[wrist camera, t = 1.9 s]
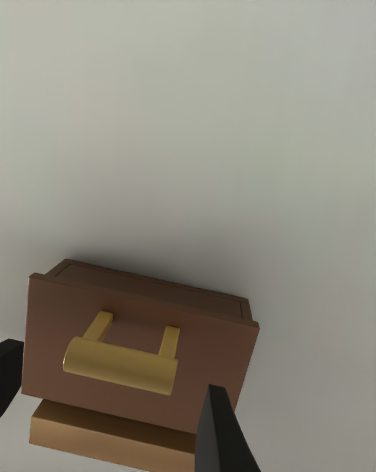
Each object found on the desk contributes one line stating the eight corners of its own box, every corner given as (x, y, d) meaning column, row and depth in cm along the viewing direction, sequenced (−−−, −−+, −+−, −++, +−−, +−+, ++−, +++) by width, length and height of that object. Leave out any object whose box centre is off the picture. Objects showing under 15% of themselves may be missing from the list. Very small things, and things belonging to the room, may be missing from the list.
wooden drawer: (65, 258, 20) (34, 282, 17) (248, 298, 20) (255, 331, 17) (56, 348, 22) (27, 385, 19) (223, 386, 22) (225, 431, 19)
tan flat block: (66, 363, 22) (30, 416, 18) (208, 395, 22) (206, 457, 18) (64, 386, 23) (28, 443, 19) (202, 418, 23) (198, 483, 18)
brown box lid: (34, 271, 17) (-27, 315, 12) (258, 321, 16) (273, 383, 12) (26, 386, 19) (-29, 457, 15) (225, 432, 18) (228, 517, 14)
